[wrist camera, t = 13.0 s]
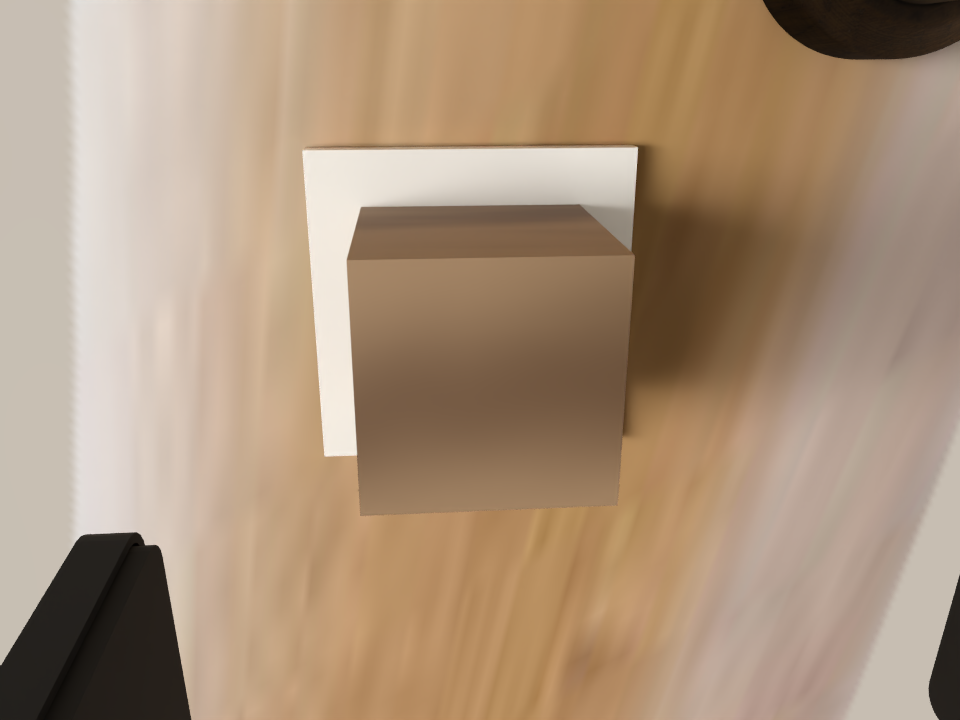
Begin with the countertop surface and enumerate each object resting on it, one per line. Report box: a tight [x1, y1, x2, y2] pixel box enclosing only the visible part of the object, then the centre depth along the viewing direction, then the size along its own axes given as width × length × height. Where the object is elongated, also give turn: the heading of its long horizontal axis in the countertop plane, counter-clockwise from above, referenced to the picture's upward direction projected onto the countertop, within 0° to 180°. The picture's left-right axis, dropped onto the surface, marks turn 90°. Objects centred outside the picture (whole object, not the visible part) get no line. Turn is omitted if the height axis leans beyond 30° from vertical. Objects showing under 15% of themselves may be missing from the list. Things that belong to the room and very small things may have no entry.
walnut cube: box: [346, 204, 635, 516], centre depth 21 cm, size 6×6×6 cm
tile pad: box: [302, 145, 638, 456], centre depth 24 cm, size 9×9×1 cm
